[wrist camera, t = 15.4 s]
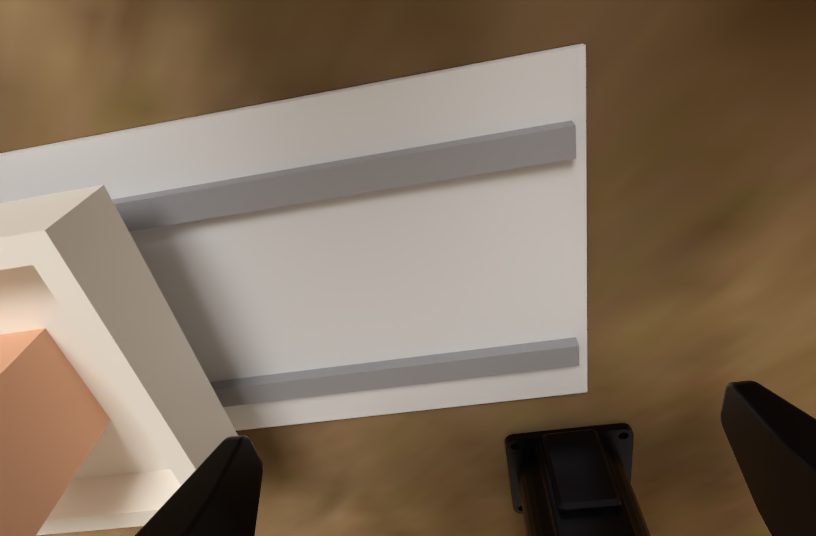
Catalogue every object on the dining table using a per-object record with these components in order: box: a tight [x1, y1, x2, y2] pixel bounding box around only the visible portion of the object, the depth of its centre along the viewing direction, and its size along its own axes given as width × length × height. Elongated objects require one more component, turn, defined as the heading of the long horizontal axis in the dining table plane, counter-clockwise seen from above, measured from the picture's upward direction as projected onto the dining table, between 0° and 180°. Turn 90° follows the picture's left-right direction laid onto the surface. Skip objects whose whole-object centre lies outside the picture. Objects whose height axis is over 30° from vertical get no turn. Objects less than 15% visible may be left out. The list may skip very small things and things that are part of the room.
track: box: [0, 43, 587, 431], centre depth 23 cm, size 16×34×2 cm, turn 101°
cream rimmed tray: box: [0, 185, 238, 535], centre depth 21 cm, size 14×14×5 cm
